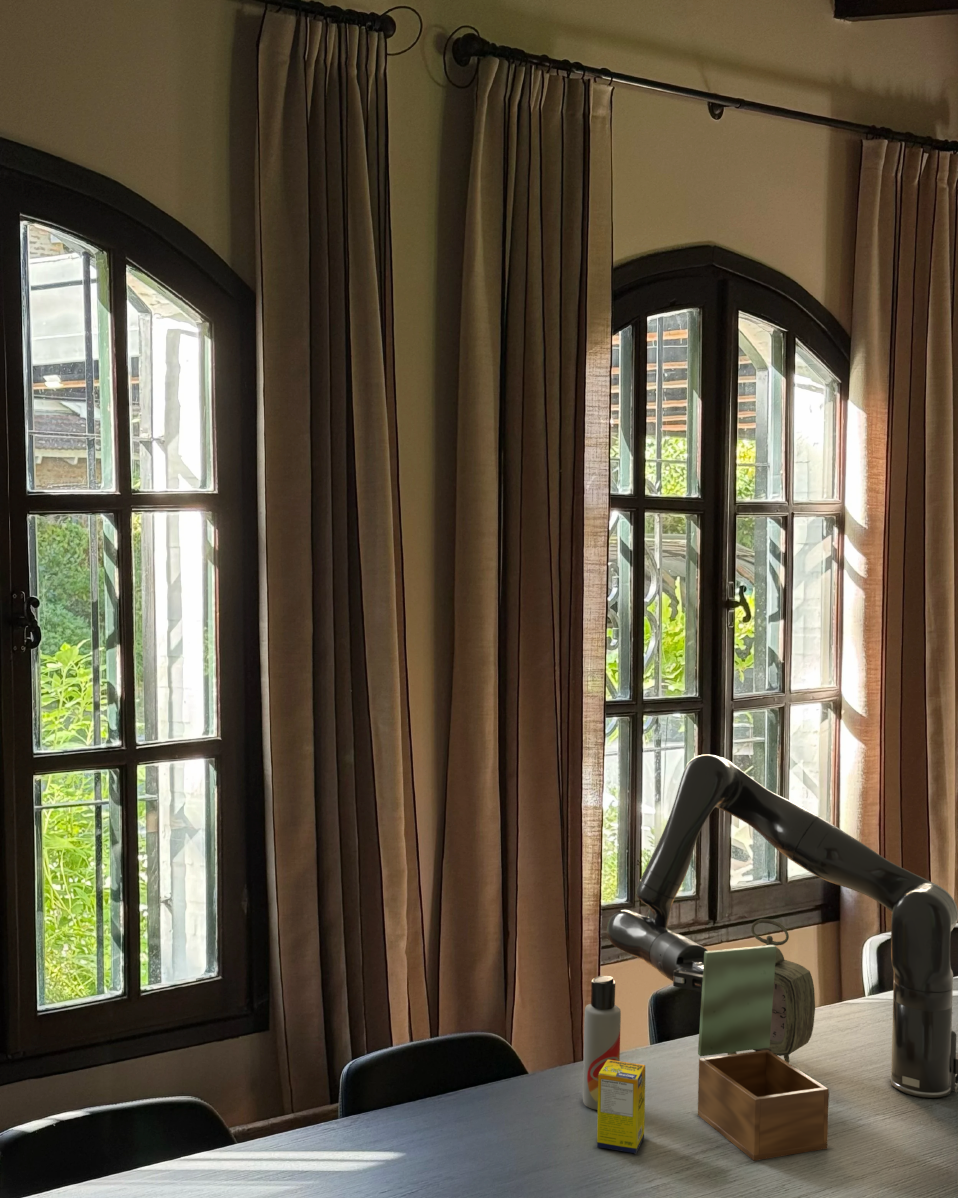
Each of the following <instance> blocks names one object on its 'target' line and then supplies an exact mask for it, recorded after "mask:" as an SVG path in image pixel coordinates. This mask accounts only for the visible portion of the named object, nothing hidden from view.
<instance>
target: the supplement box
mask: <svg viewBox="0 0 958 1198" xmlns="http://www.w3.org/2000/svg"><path fill="white" fill-rule="evenodd" d="M645 1114H646V1064H641V1063H633V1062H629V1061H628V1062H626V1061H621V1060H620V1061H615V1060H609V1059H608V1060H607V1061H606V1063H605V1064H604V1066H603V1067H602V1069H601V1071H600V1072H599V1074H598V1110H597V1124H596V1125H597V1129H596V1147H597V1148H602V1149H607V1150H612V1151H619V1152H626V1153H630V1154H635V1155H636V1154H638V1151H639V1150H640V1149H639V1148H640V1147H641V1144H642V1142H643V1140H644V1138H645V1126H646V1125H645V1123H646V1122H645V1118H646V1115H645Z"/></svg>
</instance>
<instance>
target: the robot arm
mask: <svg viewBox="0 0 958 1198" xmlns="http://www.w3.org/2000/svg"><path fill="white" fill-rule="evenodd" d="M715 808H717V809H719V810H721V811H723V812H725V813H727V814H729V815H731V816H733V817H734V818H736V819H739V820H740V821H742V822H744V823H745V824H747V825H749V826H750V827H751V828H752V829H754V830H755V831H756V832H757V833H759V835H760V836H761V837H763V838H764V839H765V840H766V841H767V842H768V843H769V844H770V845H771V846H773V848H774V849H776V851H778V852H779V853H781V854H782V855H783V856H784V857H785V858H787V859H788V860H790V861H791V862H793V863H795V864H796V865H798V866H799V867H801V868H803V869H804V870H805V871H808V872H809V873H811V874H813V875H814V876H816V877H818V878H820V879H822V880H825V881H826V882H829V883H832V884H835V885H837V886H840V887H843V888H846V889H849V890H852V891H855V892H857V893H860V894H862V895H864V896H866V897H868V898H871V899H872V900H874V901H875V902H877V903H879V904H880V905H882V907H885V908H886V909H887V910H889V911H890V912H891V921H890V922H891V925H890V958H891V966H892V969H893V985H892V987H893V988H892V989H893V992H892V994H893V995H892V1027H891V1028H892V1030H891V1033H892V1034H891V1068H890V1069H891V1070H890V1072H891V1073H890V1076H889V1077H890V1079H889V1080H890V1081H889V1082H890V1084H891V1086H892V1087H893V1088H895V1089H896V1090H898V1091H900V1092H902V1093H905V1094H907V1095H910V1096H914V1097H919V1098H927V1099H928V1098H929V1099H935V1098H936V1099H937V1098H944V1097H947V1096H948V1095H950V1094H951V1092H952V1091H956V1085H957V1084H958V1052H957V1033H956V1031H954V1030H953V998H954V997H953V995H954V994H953V993H954V972H953V970H952V966H951V934H952V931H953V929H954V928H955V927H956V925H957V923H958V906H957V903H956V901H955V899H954V898H953V896H952V895H951V894H950V893H949V892H948V891H947V890H946V889H945V888H944V887H942V886H940V885H938V884H936V883H935V882H932V881H931V880H928V879H926V878H924V877H922V876H920V875H917V874H915V873H913V872H911V871H909V870H907V869H905V868H903V867H901V866H900V865H897V864H895V863H893V862H891V861H890V860H888V859H887V858H885V857H884V856H882V855H881V854H879V853H878V852H876V851H875V850H873V849H872V848H871V847H869V846H867V845H866V844H864V843H863V842H861V841H859V840H858V839H856V838H855V837H854V836H851V835H850V834H848V833H847V832H845V831H843V830H842V829H841V828H839V827H838V826H836V825H835V824H834V823H833V824H832V823H831V822H830V821H828V820H826V819H825V818H823V817H821V816H819V815H818V814H816V813H814V812H812V811H810V810H809V809H807V808H805V807H803V806H801V805H799V804H797V803H795V802H793V801H792V800H789V799H787V798H785V797H784V796H781V795H778V794H777V793H774V792H773V791H771V790H770V789H768V788H766V787H765V786H764V785H762V784H760V783H759V782H758V781H756V780H755V779H754V778H752V777H751V776H750V775H748V774H747V773H745V771H743V770H742V769H741V768H739V766H737V765H735V763H733V762H732V761H730V760H729V759H727V758H725V757H722V756H719V755H715V754H701V755H697V756H695V757H693V758H692V759H691V760H690V761H688V762H687V763H686V766H685V768H684V770H683V772H682V775H681V778H680V782H679V786H678V789H677V792H676V795H675V798H674V802H673V805H672V807H671V811H670V814H669V817H668V819H667V822H666V824H665V827H664V829H663V831H662V834H661V836H660V838H659V840H658V842H657V844H656V847H655V849H654V850H653V853H652V855H651V857H650V859H649V861H648V862H647V865H646V867H645V869H644V871H643V873H642V875H641V877H640V879H639V881H638V884H637V886H636V888H635V895H636V897H637V899H638V900H640V901H641V903H643V904H644V905H646V906H648V913H647V915H643V914H641V913H638V912H635V911H633V910H630V909H621V910H618V911H616V912H614V913H613V914H612V915H611V916H610V918H609V920H608V922H607V924H606V925H607V927H606V933H607V938H608V940H609V942H610V943H611V944H612V945H613V946H614V947H615V948H617V949H619V950H621V951H622V952H624V953H627V954H629V955H632V956H633V957H635V958H636V957H637V958H639V960H642V961H644V962H645V963H646V964H648V965H649V966H650V967H652V968H653V969H655V970H657V971H658V972H659V973H660V974H661V975H662V976H664V977H665V978H667V979H668V980H670V981H671V982H672V986H673V987H675V988H680V989H685V990H689V991H694V992H700V993H702V982H703V966H704V952H705V951H709V950H708V949H707V948H706V947H704V946H703V945H701V944H699V943H697V942H696V941H694V940H692V939H690V938H688V937H686V936H684V935H682V934H679V933H676V932H674V931H672V930H671V929H669V928H668V924H669V919H670V917H671V911H672V906H673V903H674V901H675V900H676V897H677V894H678V893H679V891H680V889H681V886H682V885H683V882H684V881H685V878H686V876H687V874H688V872H689V871H688V870H689V868H690V865H691V861H692V858H693V853H694V850H695V846H696V843H697V841H698V837H699V835H700V833H701V830H702V828H703V827H704V825H705V823H706V822H707V820H708V818H709V816H710V815H711V813H712V812H713V810H714V809H715Z"/></svg>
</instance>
